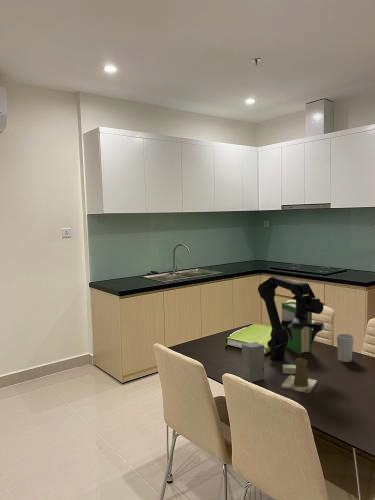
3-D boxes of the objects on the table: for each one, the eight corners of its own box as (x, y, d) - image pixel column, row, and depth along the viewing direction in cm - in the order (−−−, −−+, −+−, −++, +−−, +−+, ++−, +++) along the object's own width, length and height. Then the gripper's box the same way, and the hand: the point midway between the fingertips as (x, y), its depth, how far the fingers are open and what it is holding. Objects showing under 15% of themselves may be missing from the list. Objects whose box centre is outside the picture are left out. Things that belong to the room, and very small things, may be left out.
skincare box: (250, 383, 174) (249, 348, 173) (241, 377, 181) (240, 343, 179) (265, 379, 178) (265, 344, 177) (256, 373, 184) (255, 340, 183)
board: (281, 387, 169) (281, 385, 169) (290, 377, 179) (290, 375, 179) (309, 393, 163) (309, 391, 163) (317, 382, 173) (317, 380, 173)
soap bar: (282, 373, 184) (282, 367, 184) (282, 370, 188) (282, 364, 188) (296, 374, 183) (296, 368, 183) (295, 371, 187) (295, 364, 187)
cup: (355, 362, 194) (355, 338, 193) (337, 362, 196) (337, 338, 195) (351, 357, 202) (351, 334, 201) (335, 356, 204) (335, 333, 203)
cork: (294, 380, 174) (294, 355, 173) (308, 381, 172) (308, 357, 171) (293, 385, 168) (292, 360, 167) (307, 387, 166) (307, 362, 165)
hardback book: (311, 352, 210) (311, 308, 208) (299, 354, 208) (299, 309, 205) (293, 343, 227) (293, 301, 224) (282, 344, 224) (281, 302, 222)
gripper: (276, 311, 184) (277, 344, 185) (318, 315, 174) (318, 350, 176) (284, 306, 194) (285, 337, 195) (324, 310, 184) (324, 343, 185)
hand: (302, 342), depth 187 cm, fingers open, 9 cm apart
